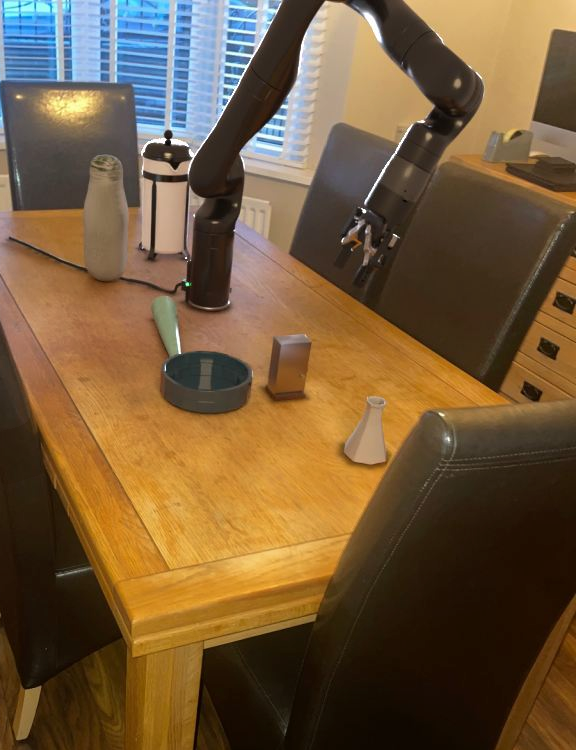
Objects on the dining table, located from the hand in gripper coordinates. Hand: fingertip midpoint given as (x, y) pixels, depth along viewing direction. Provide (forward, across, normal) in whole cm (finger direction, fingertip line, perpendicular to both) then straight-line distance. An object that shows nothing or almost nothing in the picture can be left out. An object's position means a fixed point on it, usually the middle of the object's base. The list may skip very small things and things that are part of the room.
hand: (346, 276), depth 140 cm
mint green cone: (+30, -19, -16) cm, 39 cm away
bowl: (+29, +3, -16) cm, 33 cm away
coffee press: (+29, -77, -4) cm, 82 cm away
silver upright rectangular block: (+23, +5, -2) cm, 23 cm away
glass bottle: (+35, -58, -21) cm, 71 cm away
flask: (+20, +28, +3) cm, 34 cm away
